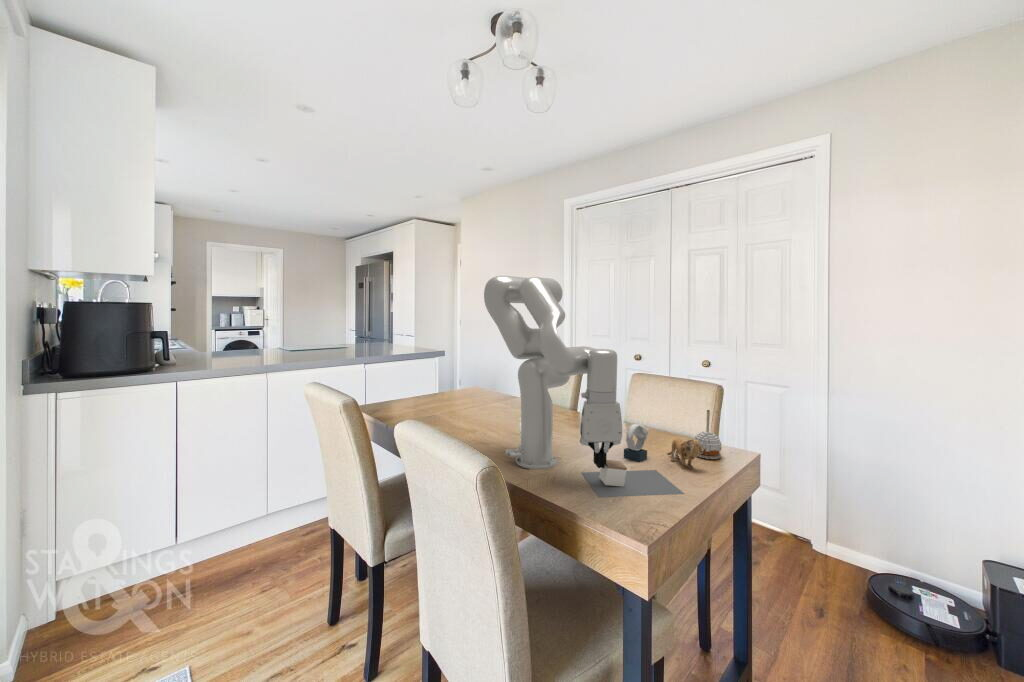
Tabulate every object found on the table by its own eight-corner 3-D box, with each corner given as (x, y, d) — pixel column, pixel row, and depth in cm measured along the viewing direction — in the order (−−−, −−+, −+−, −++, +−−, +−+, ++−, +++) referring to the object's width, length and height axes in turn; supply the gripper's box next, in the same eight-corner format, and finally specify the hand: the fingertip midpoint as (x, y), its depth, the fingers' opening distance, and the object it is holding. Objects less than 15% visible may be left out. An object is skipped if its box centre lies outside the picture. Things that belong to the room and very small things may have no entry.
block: (605, 484, 107) (608, 465, 107) (599, 477, 112) (601, 459, 111) (623, 486, 107) (626, 467, 107) (617, 479, 112) (619, 461, 112)
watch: (650, 458, 130) (650, 424, 129) (636, 465, 124) (637, 428, 123) (633, 454, 134) (634, 420, 133) (620, 460, 128) (621, 425, 127)
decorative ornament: (710, 452, 137) (712, 406, 136) (725, 460, 129) (727, 412, 128) (688, 452, 136) (690, 407, 135) (702, 461, 128) (703, 413, 127)
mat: (598, 498, 101) (598, 497, 101) (580, 473, 117) (580, 472, 117) (684, 495, 103) (684, 493, 103) (655, 471, 119) (655, 469, 119)
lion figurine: (706, 472, 119) (707, 441, 118) (690, 473, 118) (691, 442, 117) (674, 455, 133) (675, 427, 133) (659, 456, 132) (660, 428, 131)
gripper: (576, 400, 103) (575, 472, 104) (634, 399, 105) (632, 470, 106) (569, 394, 111) (568, 461, 112) (624, 393, 112) (622, 460, 113)
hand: (599, 466), depth 109 cm, fingers closed
